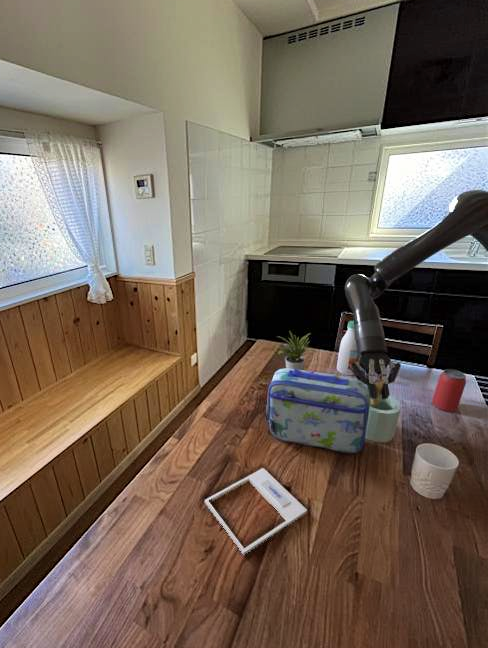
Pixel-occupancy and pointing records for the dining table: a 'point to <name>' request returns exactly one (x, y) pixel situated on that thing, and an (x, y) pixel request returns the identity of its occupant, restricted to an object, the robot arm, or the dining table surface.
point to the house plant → (294, 352)
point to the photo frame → (273, 494)
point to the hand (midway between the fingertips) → (379, 398)
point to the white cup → (432, 470)
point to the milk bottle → (347, 351)
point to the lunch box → (318, 410)
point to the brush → (379, 386)
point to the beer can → (449, 390)
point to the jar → (383, 420)
